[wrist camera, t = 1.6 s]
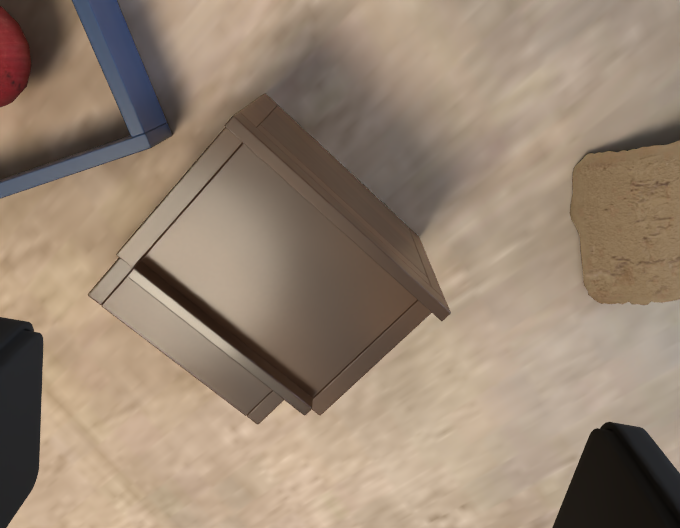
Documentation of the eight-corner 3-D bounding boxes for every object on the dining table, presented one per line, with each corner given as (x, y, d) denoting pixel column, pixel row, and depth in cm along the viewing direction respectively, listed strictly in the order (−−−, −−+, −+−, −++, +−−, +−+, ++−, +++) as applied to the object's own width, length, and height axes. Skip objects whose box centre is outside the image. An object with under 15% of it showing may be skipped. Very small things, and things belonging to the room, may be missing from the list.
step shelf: (266, 387, 42) (241, 505, 32) (113, 268, 39) (28, 353, 29) (419, 237, 39) (451, 313, 28) (264, 93, 36) (233, 115, 25)
